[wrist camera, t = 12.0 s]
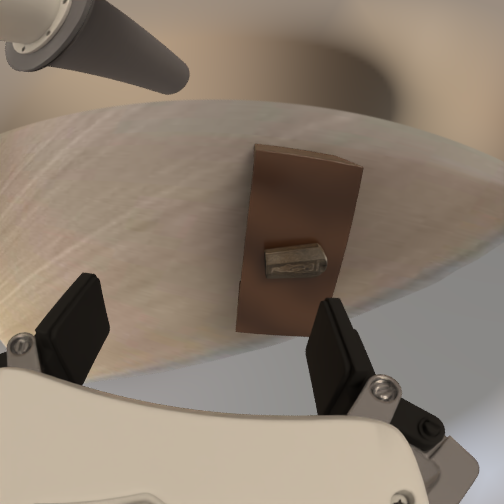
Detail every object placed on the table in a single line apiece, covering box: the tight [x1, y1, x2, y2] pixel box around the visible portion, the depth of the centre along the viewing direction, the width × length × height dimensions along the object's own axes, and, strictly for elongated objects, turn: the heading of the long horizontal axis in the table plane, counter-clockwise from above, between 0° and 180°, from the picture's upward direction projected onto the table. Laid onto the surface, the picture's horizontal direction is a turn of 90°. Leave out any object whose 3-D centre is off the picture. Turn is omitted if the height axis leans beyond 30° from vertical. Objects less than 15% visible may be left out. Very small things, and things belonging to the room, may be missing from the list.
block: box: [264, 243, 327, 279], centre depth 27 cm, size 4×6×2 cm, turn 95°
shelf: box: [236, 144, 363, 337], centre depth 32 cm, size 20×10×10 cm, turn 174°
